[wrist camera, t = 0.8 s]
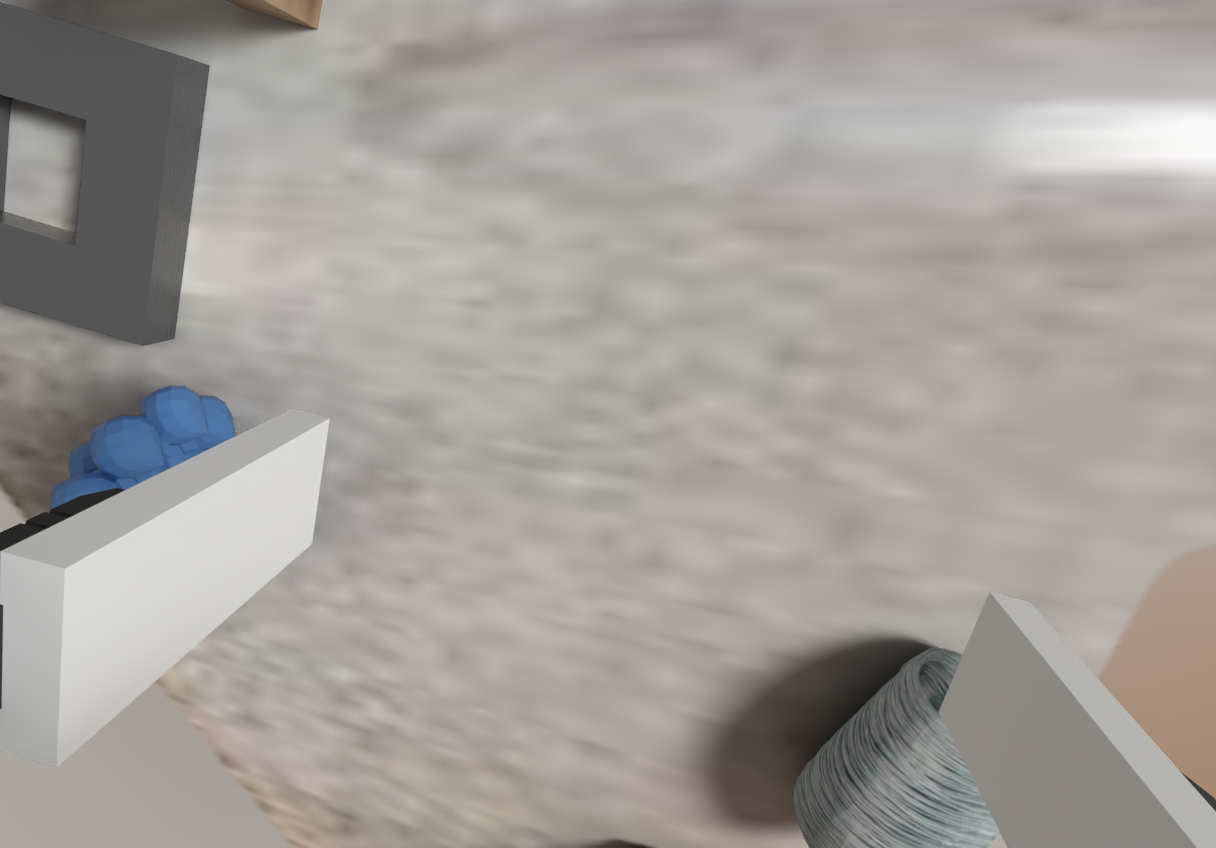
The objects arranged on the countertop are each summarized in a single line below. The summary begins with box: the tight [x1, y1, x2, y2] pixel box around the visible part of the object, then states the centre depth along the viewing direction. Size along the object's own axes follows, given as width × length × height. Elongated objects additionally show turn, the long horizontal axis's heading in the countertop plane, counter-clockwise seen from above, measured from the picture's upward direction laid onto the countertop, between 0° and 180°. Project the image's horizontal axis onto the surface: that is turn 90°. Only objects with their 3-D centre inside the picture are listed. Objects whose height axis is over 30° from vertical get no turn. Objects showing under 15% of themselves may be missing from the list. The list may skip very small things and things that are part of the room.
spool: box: [793, 648, 1000, 848], centre depth 40 cm, size 14×10×10 cm
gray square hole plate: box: [0, 2, 209, 346], centre depth 38 cm, size 14×14×2 cm
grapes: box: [50, 386, 235, 509], centre depth 37 cm, size 12×7×12 cm, turn 153°
